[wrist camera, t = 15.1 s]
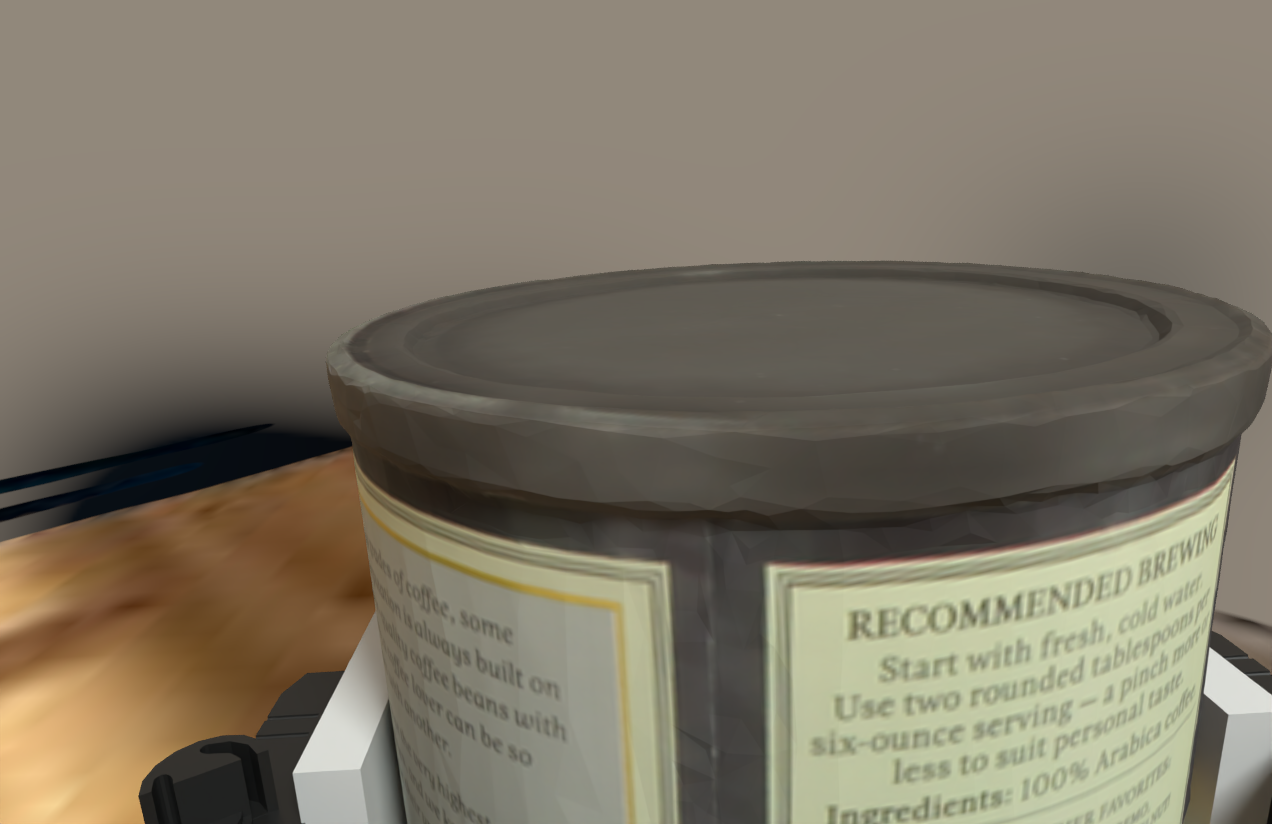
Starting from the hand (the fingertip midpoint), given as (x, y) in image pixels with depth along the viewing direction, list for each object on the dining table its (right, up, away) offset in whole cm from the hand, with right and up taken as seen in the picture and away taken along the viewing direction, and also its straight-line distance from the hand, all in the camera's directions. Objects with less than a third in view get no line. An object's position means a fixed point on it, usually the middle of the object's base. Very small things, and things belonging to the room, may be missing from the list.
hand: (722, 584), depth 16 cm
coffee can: (0, -9, -2) cm, 9 cm away
